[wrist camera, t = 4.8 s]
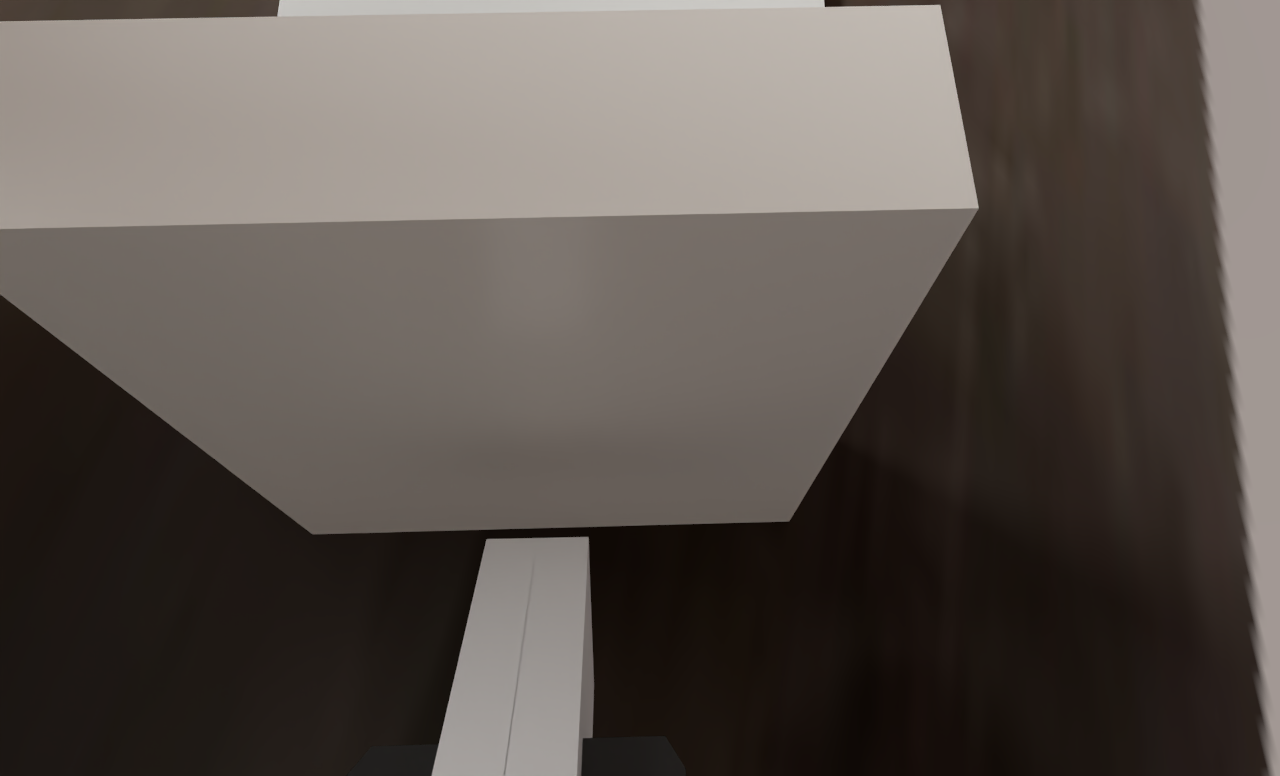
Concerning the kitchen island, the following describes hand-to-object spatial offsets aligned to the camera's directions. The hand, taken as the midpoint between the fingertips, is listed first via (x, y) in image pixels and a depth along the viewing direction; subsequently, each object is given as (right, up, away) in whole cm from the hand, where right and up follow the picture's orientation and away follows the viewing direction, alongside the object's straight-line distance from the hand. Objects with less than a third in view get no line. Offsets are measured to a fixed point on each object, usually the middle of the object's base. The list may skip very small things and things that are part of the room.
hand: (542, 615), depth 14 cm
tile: (0, +2, +6) cm, 6 cm away
